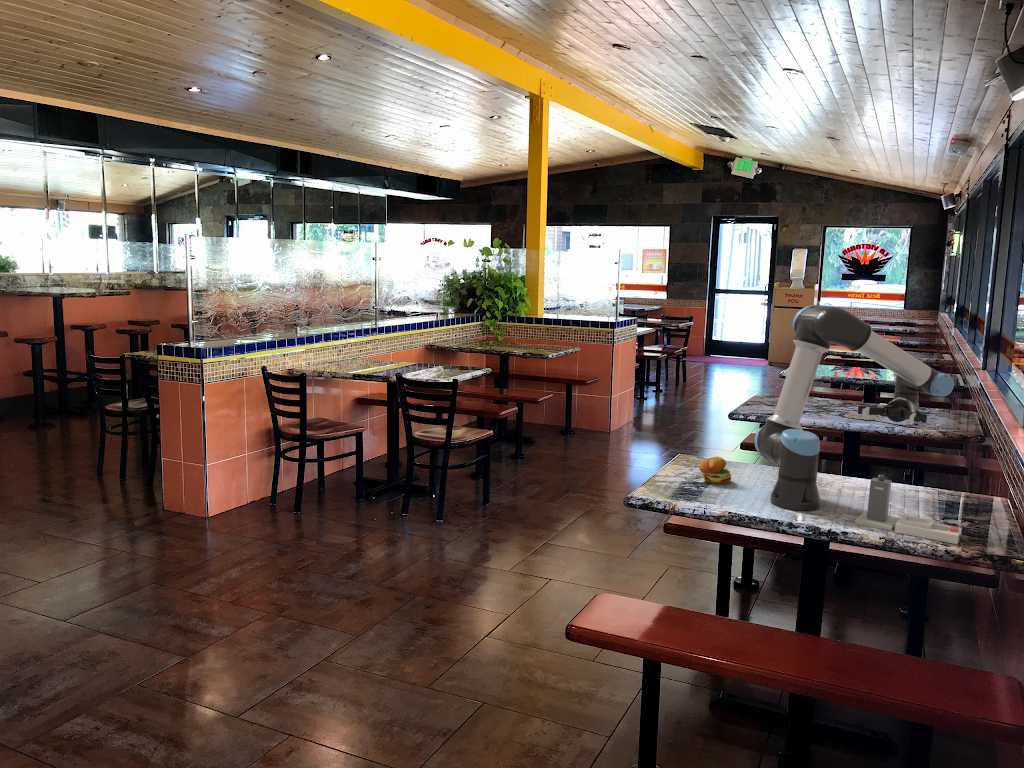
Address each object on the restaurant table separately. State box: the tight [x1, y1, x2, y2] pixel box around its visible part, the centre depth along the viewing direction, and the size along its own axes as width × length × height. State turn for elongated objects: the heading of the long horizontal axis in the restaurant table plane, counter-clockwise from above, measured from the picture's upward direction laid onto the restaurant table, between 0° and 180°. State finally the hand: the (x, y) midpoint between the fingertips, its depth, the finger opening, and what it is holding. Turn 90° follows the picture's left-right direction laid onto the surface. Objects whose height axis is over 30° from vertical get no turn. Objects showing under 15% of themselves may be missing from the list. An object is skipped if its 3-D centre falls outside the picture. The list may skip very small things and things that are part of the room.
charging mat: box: [854, 511, 900, 531], centre depth 237 cm, size 10×12×1 cm
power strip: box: [894, 514, 969, 545], centre depth 227 cm, size 18×9×4 cm, turn 55°
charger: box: [866, 474, 892, 522], centre depth 236 cm, size 5×4×14 cm
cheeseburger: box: [699, 456, 732, 485], centre depth 279 cm, size 10×11×10 cm
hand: (886, 416), depth 246 cm, fingers open, 13 cm apart
